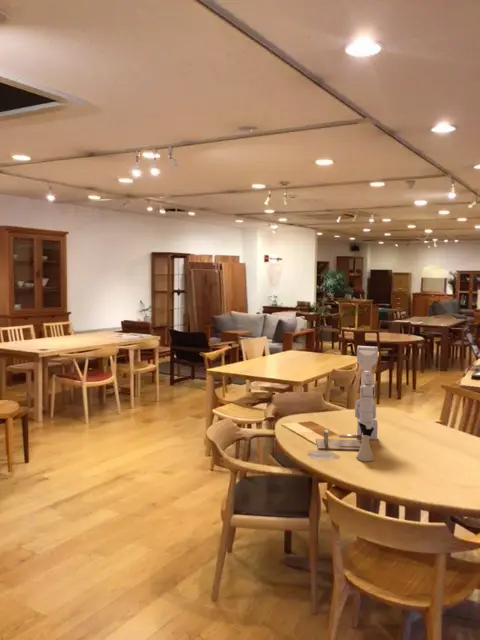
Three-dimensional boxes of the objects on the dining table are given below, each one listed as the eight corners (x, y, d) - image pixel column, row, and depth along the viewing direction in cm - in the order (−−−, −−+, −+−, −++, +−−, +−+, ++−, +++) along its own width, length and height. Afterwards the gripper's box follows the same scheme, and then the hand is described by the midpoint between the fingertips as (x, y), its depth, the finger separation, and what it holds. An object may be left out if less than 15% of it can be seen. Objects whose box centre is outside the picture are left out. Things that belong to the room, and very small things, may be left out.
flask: (363, 463, 242) (364, 439, 241) (353, 457, 249) (353, 435, 248) (377, 460, 246) (378, 437, 245) (366, 455, 252) (367, 433, 251)
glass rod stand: (366, 440, 267) (367, 430, 267) (368, 443, 262) (369, 433, 262) (338, 439, 268) (338, 429, 267) (339, 443, 263) (339, 432, 262)
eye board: (362, 441, 272) (363, 427, 271) (367, 451, 258) (368, 436, 257) (315, 440, 273) (316, 426, 272) (318, 449, 259) (318, 435, 258)
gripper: (355, 407, 271) (354, 435, 272) (360, 414, 256) (359, 444, 258) (370, 407, 270) (369, 435, 272) (376, 415, 256) (375, 445, 257)
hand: (365, 440), depth 265 cm, fingers closed on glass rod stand, 5 cm apart
